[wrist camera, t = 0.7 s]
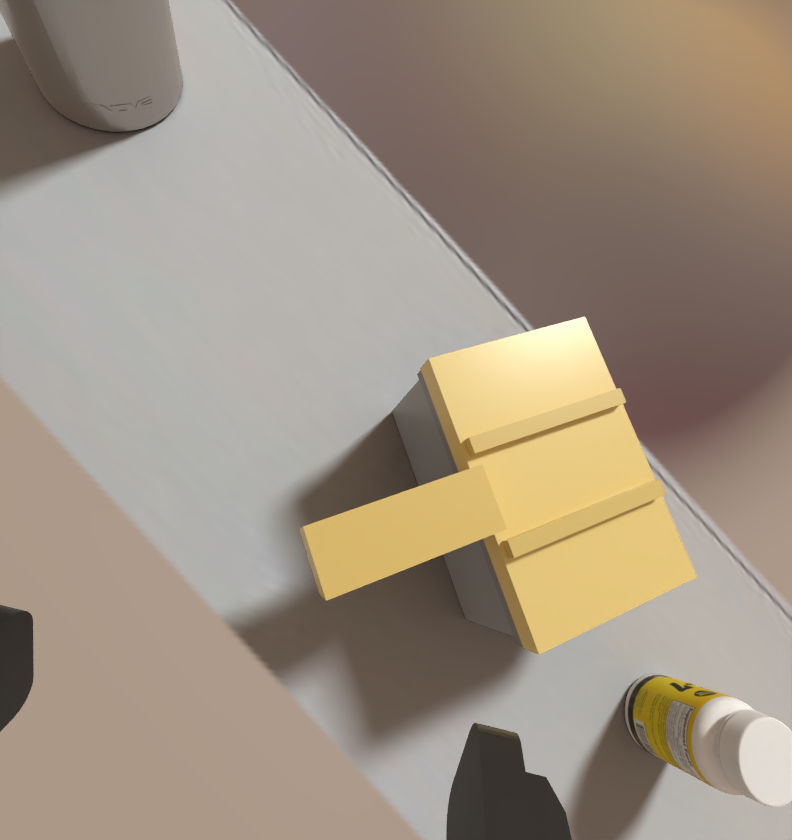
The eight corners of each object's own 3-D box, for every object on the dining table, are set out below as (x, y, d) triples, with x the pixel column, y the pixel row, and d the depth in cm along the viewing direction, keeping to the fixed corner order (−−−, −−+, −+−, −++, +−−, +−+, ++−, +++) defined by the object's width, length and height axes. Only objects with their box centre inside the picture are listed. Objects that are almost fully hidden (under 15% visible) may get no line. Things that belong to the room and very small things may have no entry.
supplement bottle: (691, 687, 34) (818, 728, 26) (677, 764, 33) (807, 832, 25) (630, 661, 34) (741, 695, 26) (613, 737, 32) (725, 799, 24)
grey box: (388, 409, 34) (421, 369, 26) (508, 374, 37) (569, 328, 29) (464, 623, 32) (523, 646, 24) (585, 569, 35) (673, 574, 27)
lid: (262, 411, 24) (261, 393, 21) (569, 327, 29) (601, 304, 26) (360, 727, 22) (373, 753, 19) (674, 575, 27) (721, 578, 24)
